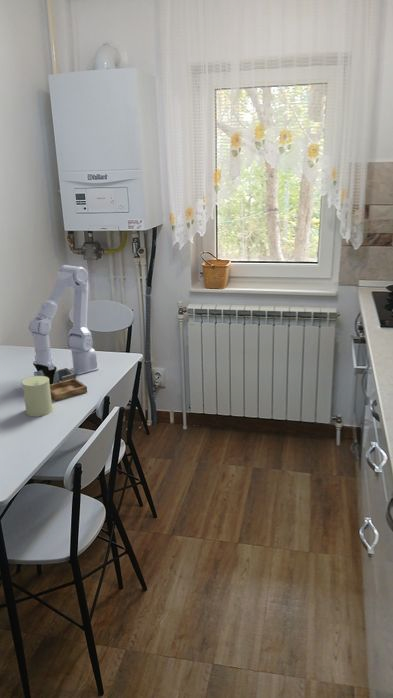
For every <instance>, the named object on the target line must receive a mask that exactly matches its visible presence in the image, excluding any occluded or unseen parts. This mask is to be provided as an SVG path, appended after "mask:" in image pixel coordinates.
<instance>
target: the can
mask: <svg viewBox="0 0 393 698" xmlns="http://www.w3.org/2000/svg"><path fill="white" fill-rule="evenodd" d="M21 384H22V390H23V397H24V403H25V404H24V405H25V413H26V415H28V416H30V417H43V416H46V415H48V414H50V413H51V412H53V410H54V407H53V402H52V398H51V393H50V384H49V378H48V377H46V376H34V375H33V376H30V377H27V378H25V379H23V380H22V382H21Z"/></svg>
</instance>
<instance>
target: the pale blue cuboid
mask: <svg viewBox="0 0 393 698" xmlns="http://www.w3.org/2000/svg"><path fill="white" fill-rule="evenodd" d="M58 370H59V369H56V371H55V374H54V379H53V384H55V383H58V382H60V379H59V373H58ZM33 376H44V374H43V372H42V371H37V370H36V371H34V372H33Z"/></svg>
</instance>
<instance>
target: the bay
mask: <svg viewBox="0 0 393 698" xmlns="http://www.w3.org/2000/svg"><path fill="white" fill-rule="evenodd" d="M57 370H58V373H59V380H61V382H62V381H66V380H70V379H73V378H75V379H77V374H76V373H74V372H73V371H71V370H70V368H68V367H66V368H61V369H57Z"/></svg>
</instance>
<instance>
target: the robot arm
mask: <svg viewBox="0 0 393 698" xmlns="http://www.w3.org/2000/svg"><path fill="white" fill-rule="evenodd" d="M88 274H89V272H88V271H87V270H86V268H84V267H83V266H74V265H68V264H63V265H61V267H60V268H59V270H58V272H57V274H56V275H57V280H56V282H55V284H54V287H53V289H52V291H51V294H50V296H49V298H48V300H45V301H43V303H41V307H40V309H39V311H38V312H37V314H36V315H35V317H34V318H33V319H32V320H31V321H30V322H29V324H28V325H29V326H28V330H29V332H30V333H31V336H32V339H33V345H34V351H35V352H34V353H35V355H34V360H33V362H32V365H33V366H34V367H35V369H36V372H37V371H42V372H43V374H44V376H46V377H48V378H49V384H50V385H51V384H53V379H54V374H55V371H56V370H58V369H57V366H55V364H54V362H53V357H52V352H51V343H50V335H49V334H50V332H51V331H52V324H53V319H54V317H55V315H56V314H57V312H58V309H59V307H58V303H59V301H60V300H61V298H62V297H63V294H65V291H66V290H67V288H70V287H72V288H73V290H74V293H73V294H74V295H73V296H74V297H73V317H72V318H73V322H72V328H70V329H69V330H68V336H67V337H66V345H67V347H69V350H70V351H71V358H72V367H71V368H69V370H70V371H72V372H73V373H75V374H76V376H77V375H78V376H79V375H83V374H87V373H91V372H94V371H97V370H99V368H98V362H97V352H96V350H95V349H94V348H93V344H94V343H93V338H92V332H91V331H90V330H89V328H88V310H89V309H88V306H89V305H88V304H89V286H90V285H89V281H88V276H89V275H88Z"/></svg>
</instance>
